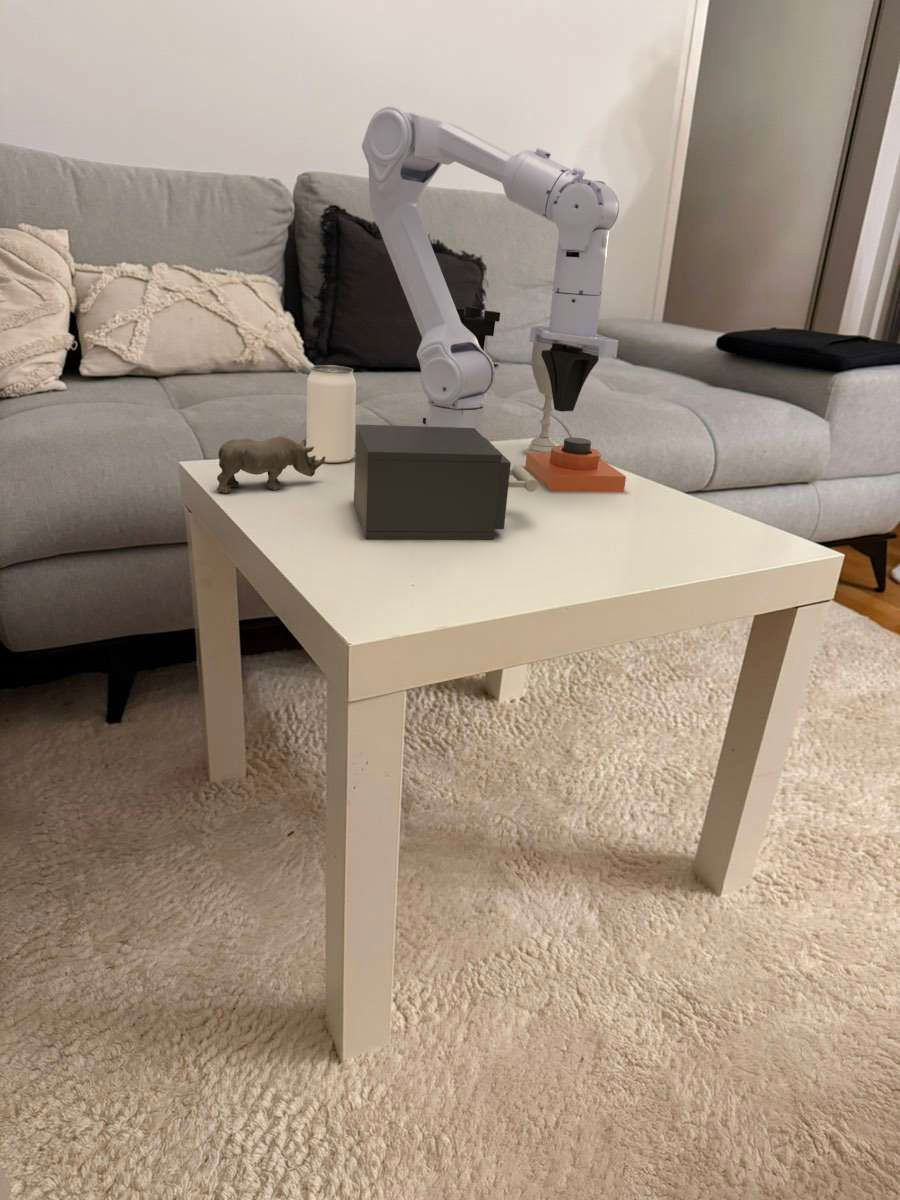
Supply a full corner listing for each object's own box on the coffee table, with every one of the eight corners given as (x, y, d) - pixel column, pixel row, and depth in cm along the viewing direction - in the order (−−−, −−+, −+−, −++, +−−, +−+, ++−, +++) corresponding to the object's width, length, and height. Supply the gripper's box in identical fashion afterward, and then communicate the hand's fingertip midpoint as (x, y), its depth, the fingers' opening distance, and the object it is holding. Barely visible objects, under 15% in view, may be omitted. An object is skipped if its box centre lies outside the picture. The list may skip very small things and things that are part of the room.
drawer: (512, 498, 101) (519, 438, 99) (540, 529, 91) (549, 463, 88) (374, 496, 98) (376, 434, 95) (387, 529, 88) (390, 459, 85)
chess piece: (435, 456, 120) (452, 308, 113) (413, 443, 127) (427, 302, 119) (485, 456, 124) (504, 313, 116) (460, 444, 130) (477, 307, 123)
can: (345, 466, 113) (348, 374, 108) (299, 460, 114) (299, 369, 110) (360, 455, 119) (362, 367, 114) (316, 450, 120) (316, 363, 115)
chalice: (512, 455, 126) (525, 328, 119) (524, 446, 132) (537, 325, 125) (560, 462, 124) (576, 334, 117) (570, 453, 130) (586, 330, 123)
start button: (559, 449, 115) (560, 436, 114) (584, 450, 116) (585, 437, 115) (567, 456, 112) (569, 443, 111) (593, 456, 113) (595, 443, 112)
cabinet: (468, 504, 101) (474, 427, 98) (493, 539, 90) (502, 454, 86) (353, 502, 98) (356, 424, 95) (365, 539, 87) (368, 451, 84)
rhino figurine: (332, 486, 104) (333, 437, 101) (220, 495, 97) (218, 443, 95) (319, 477, 107) (319, 430, 105) (210, 486, 100) (208, 435, 98)
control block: (525, 467, 120) (528, 439, 118) (591, 468, 122) (595, 441, 120) (550, 491, 109) (554, 461, 107) (623, 492, 111) (628, 462, 109)
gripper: (514, 287, 103) (504, 400, 109) (589, 298, 92) (574, 423, 97) (560, 289, 107) (548, 399, 112) (638, 299, 95) (621, 420, 101)
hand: (563, 410), depth 105 cm, fingers closed
